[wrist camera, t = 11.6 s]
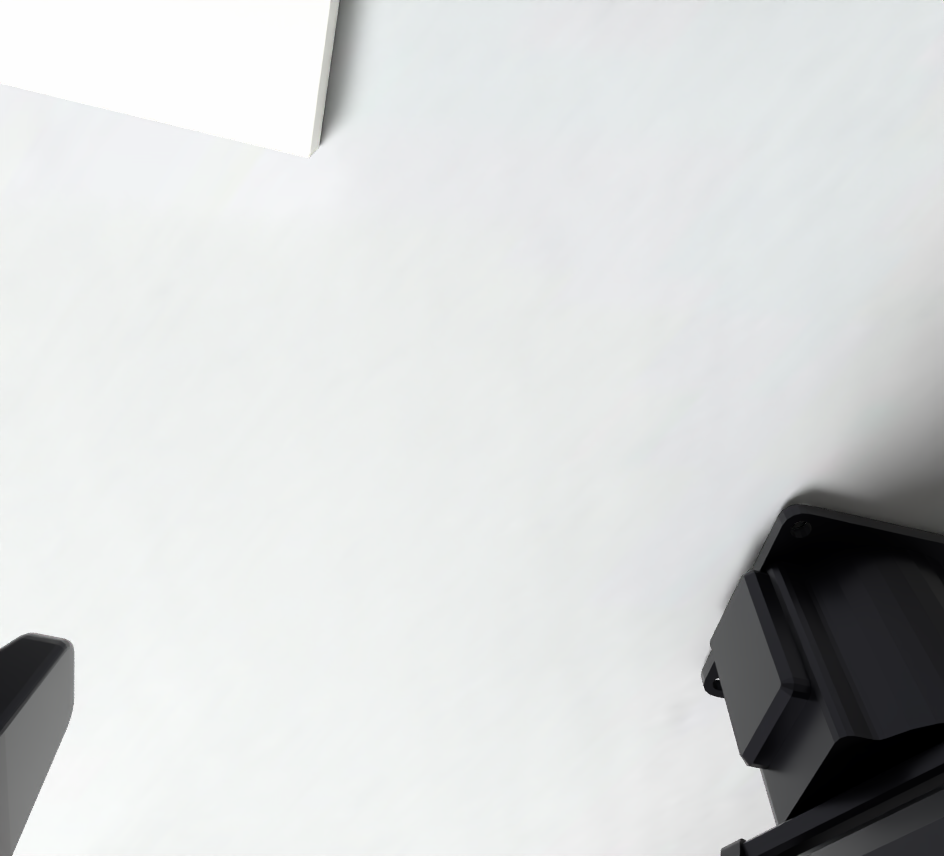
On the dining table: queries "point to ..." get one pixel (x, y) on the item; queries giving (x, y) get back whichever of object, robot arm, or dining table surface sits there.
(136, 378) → the dining table surface
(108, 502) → the dining table surface
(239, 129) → the socket plate
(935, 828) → the robot arm
